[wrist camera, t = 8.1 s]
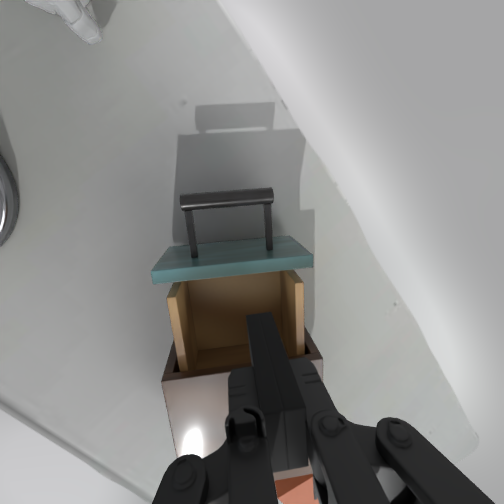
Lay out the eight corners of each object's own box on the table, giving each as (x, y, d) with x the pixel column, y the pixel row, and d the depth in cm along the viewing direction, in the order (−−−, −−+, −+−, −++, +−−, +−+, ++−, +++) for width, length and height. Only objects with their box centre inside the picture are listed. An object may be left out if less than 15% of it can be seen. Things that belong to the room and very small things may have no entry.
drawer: (160, 193, 27) (136, 199, 19) (288, 184, 28) (313, 185, 20) (186, 351, 32) (176, 404, 24) (292, 337, 33) (313, 383, 26)
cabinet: (178, 322, 32) (160, 381, 22) (294, 307, 33) (323, 358, 24) (194, 414, 36) (185, 497, 27) (297, 398, 37) (322, 472, 28)
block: (269, 452, 40) (277, 498, 34) (301, 431, 39) (315, 475, 33) (289, 472, 41) (300, 520, 36) (320, 453, 41) (336, 498, 35)
